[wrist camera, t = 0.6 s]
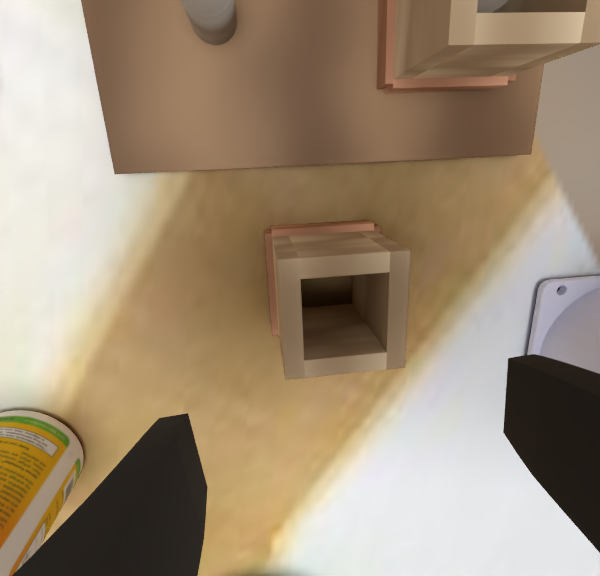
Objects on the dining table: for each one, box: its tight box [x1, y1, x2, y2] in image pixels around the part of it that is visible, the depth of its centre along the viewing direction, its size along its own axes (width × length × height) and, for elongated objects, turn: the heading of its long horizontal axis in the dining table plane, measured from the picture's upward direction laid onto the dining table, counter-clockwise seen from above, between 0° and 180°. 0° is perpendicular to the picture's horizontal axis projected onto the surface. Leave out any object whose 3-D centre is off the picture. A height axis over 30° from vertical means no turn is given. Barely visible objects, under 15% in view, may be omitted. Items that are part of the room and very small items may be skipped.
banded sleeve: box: [264, 220, 411, 380], centre depth 15 cm, size 5×5×5 cm
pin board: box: [81, 0, 544, 174], centre depth 13 cm, size 17×10×4 cm, turn 92°
